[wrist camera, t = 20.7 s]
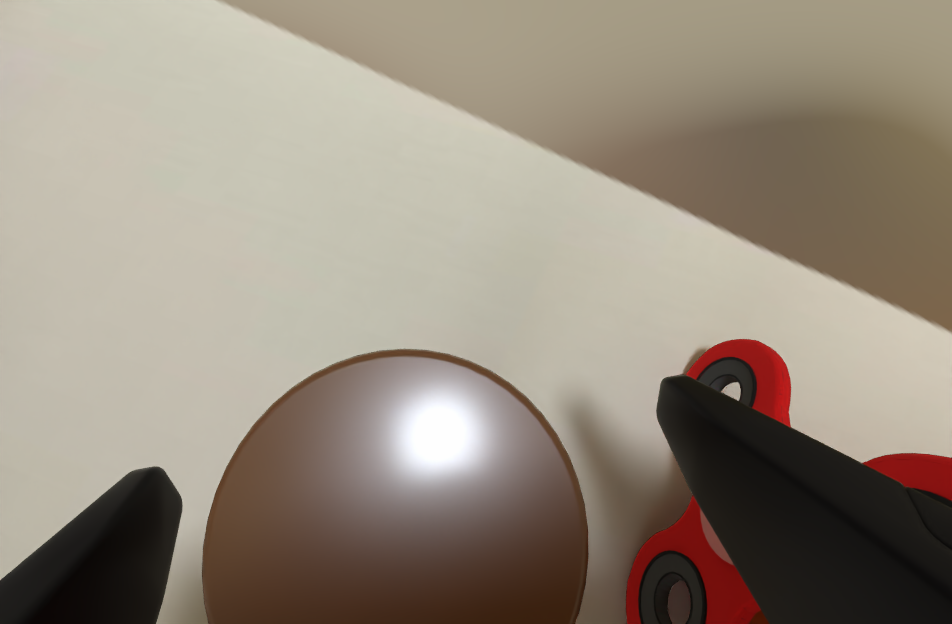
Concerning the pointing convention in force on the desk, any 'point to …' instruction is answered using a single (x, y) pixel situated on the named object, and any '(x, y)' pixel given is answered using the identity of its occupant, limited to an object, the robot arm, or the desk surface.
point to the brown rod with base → (398, 503)
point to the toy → (692, 538)
